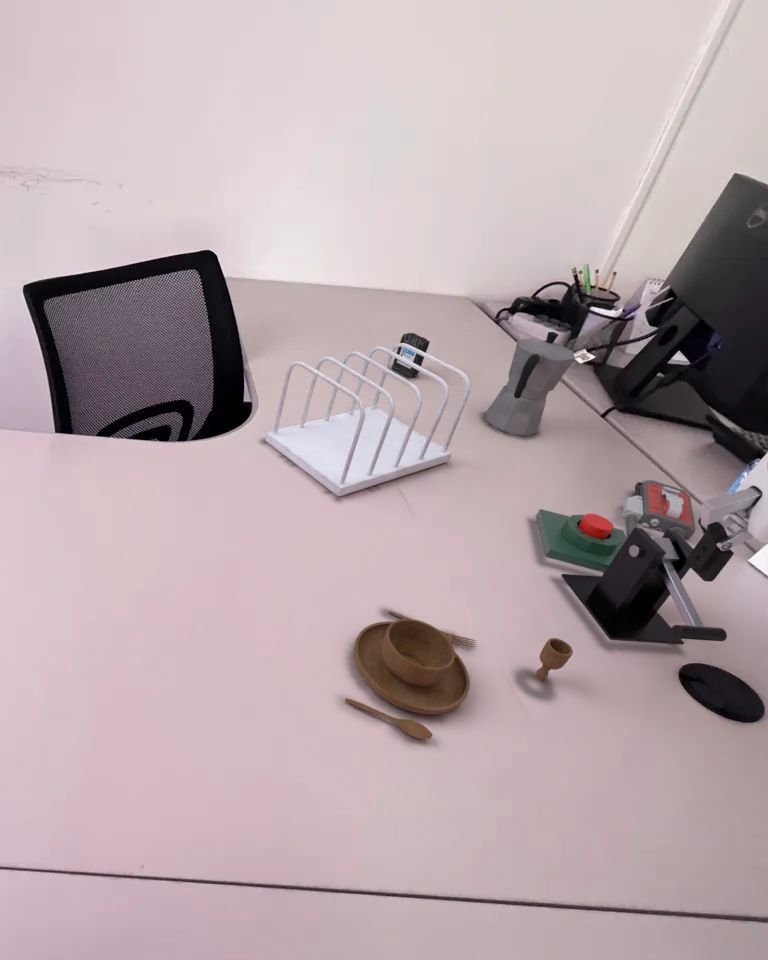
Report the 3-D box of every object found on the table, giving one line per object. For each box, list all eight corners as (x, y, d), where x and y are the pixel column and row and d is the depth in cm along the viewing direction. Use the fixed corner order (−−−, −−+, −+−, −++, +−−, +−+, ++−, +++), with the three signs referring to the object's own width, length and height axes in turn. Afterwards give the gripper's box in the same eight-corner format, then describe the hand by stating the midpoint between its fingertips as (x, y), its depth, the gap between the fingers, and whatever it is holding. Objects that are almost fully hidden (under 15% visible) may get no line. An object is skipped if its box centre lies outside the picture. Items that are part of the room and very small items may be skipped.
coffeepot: (496, 403, 131) (536, 315, 121) (547, 422, 126) (593, 332, 116) (467, 428, 122) (508, 335, 111) (521, 450, 117) (569, 354, 106)
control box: (615, 541, 97) (629, 520, 95) (632, 586, 89) (648, 563, 87) (533, 520, 99) (545, 498, 97) (542, 561, 92) (556, 539, 89)
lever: (715, 645, 73) (733, 636, 71) (671, 642, 73) (688, 633, 71) (666, 549, 81) (680, 538, 79) (625, 546, 80) (639, 535, 78)
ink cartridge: (390, 368, 141) (402, 332, 136) (397, 367, 142) (409, 331, 137) (410, 378, 137) (423, 342, 133) (417, 376, 138) (430, 340, 134)
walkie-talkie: (618, 485, 110) (618, 548, 96) (632, 462, 107) (634, 524, 93) (681, 505, 107) (691, 574, 92) (697, 482, 104) (710, 550, 90)
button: (604, 527, 93) (610, 517, 92) (610, 543, 90) (616, 532, 89) (575, 520, 94) (581, 510, 93) (580, 535, 91) (586, 525, 90)
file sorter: (370, 414, 123) (397, 334, 114) (448, 463, 111) (485, 378, 102) (263, 440, 112) (284, 353, 103) (337, 498, 100) (368, 406, 91)
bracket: (679, 649, 80) (739, 576, 73) (606, 644, 80) (660, 570, 73) (623, 584, 89) (672, 514, 82) (557, 580, 89) (601, 509, 82)
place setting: (371, 601, 82) (386, 565, 79) (550, 677, 75) (575, 640, 71) (330, 701, 69) (346, 664, 66) (542, 805, 62) (572, 768, 58)
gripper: (799, 447, 56) (687, 596, 65) (997, 459, 56) (857, 604, 66) (732, 404, 62) (638, 546, 71) (911, 414, 62) (794, 554, 72)
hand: (743, 574), depth 69 cm, fingers open, 9 cm apart
